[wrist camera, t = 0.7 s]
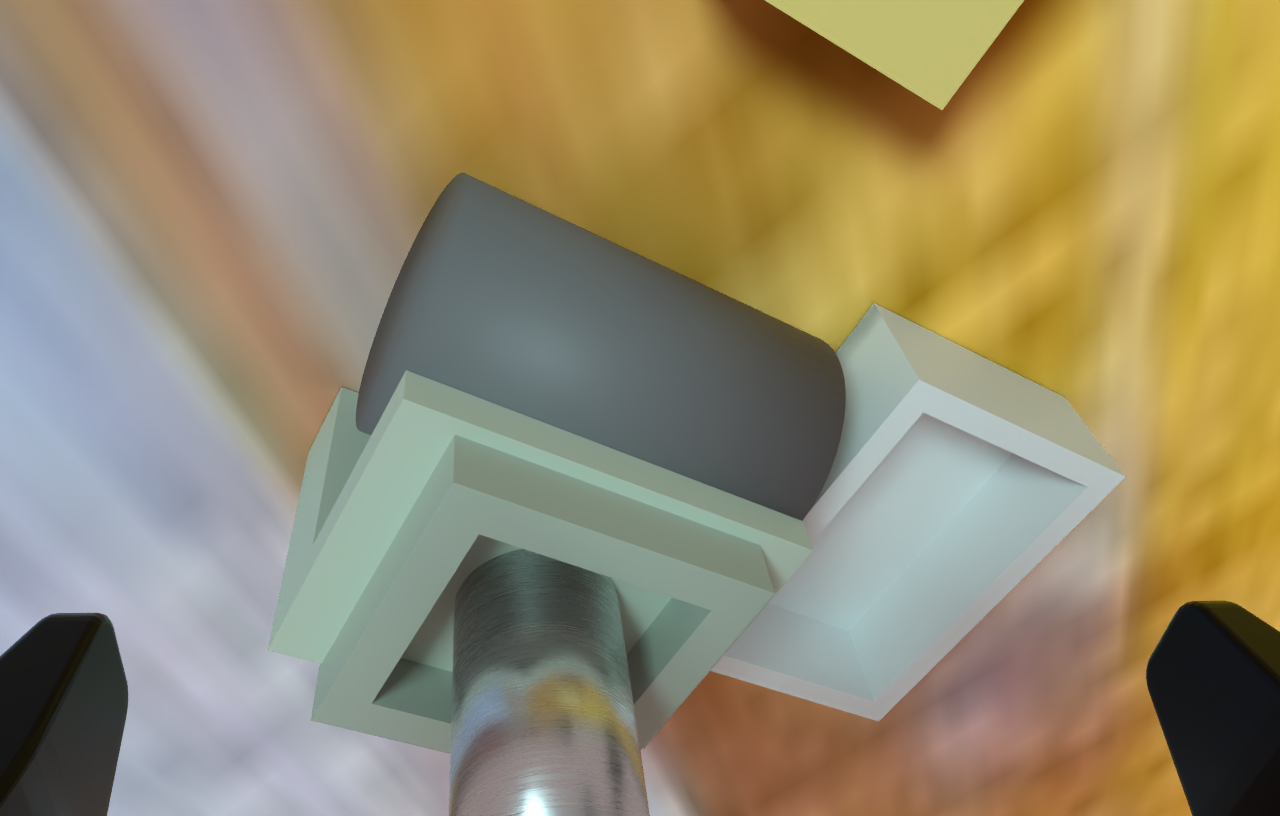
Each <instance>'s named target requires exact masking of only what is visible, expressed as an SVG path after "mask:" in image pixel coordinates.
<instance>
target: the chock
mask: <svg viewBox="0 0 1280 816" xmlns="http://www.w3.org/2000/svg"><path fill="white" fill-rule="evenodd" d="M765 1H766V2H768V3H770V4H771V5H773V6H775V7H776V8H778V9H779V10H781V11H783V12H784V13H786V14H787V15H789V16H791V17H792V18H794V19H795V20H797V21H799V22H800V23H802V24H804V25H805V26H807V27H808V28H810V29H812V30H813V31H815V32H816V33H818V34H820V35H821V36H823V37H824V38H826V39H828V40H829V41H831V42H833V43H834V44H836V45H837V46H839V47H841V48H842V49H844V50H845V51H847V52H849V53H850V54H852V55H853V56H855V57H857V58H858V59H860V60H862V61H863V62H865V63H866V64H868V65H870V66H871V67H873V68H874V69H876V70H878V71H879V72H881V73H883V74H884V75H886V76H887V77H889V78H891V79H892V80H894V81H895V82H897V83H899V84H900V85H902V86H903V87H905V88H907V89H908V90H910V91H912V92H913V93H915V94H916V95H918V96H920V97H921V98H923V99H924V100H926V101H928V102H929V103H931V104H932V105H934V106H936V107H937V108H939V109H941V110H943V109H944V107H945V106H946V105H947V103H948V102H949V101H950V99H951V98H952V96H953V95H954V94H955V92H956V91H957V90H958V88H959V87H960V86H961V84H962V83H963V82H964V80H965V79H966V78H967V76H968V75H969V74H970V72H971V71H972V70H973V68H974V67H975V66H976V64H977V63H978V62H979V60H980V59H981V58H982V56H983V55H984V54H985V52H986V51H987V50H988V48H989V47H990V45H991V44H992V43H993V41H994V40H995V39H996V37H997V36H998V35H999V33H1000V32H1001V31H1002V29H1003V28H1004V27H1005V25H1006V24H1007V23H1008V21H1009V20H1010V19H1011V17H1012V16H1013V15H1014V13H1015V12H1016V11H1017V9H1018V8H1019V7H1020V5H1021V4H1022V3H1023V1H1024V0H765Z"/></svg>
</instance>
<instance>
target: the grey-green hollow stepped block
mask: <svg viewBox="0 0 1280 816" xmlns="http://www.w3.org/2000/svg"><path fill="white" fill-rule="evenodd" d="M845 407H846V390H845V379H844V375H843V370H842V366H841V364H840V361H839V359H838V357H837V355H836V353H835V352H834V350H833V349H832V348H831V347H830V346H829V345H828V344H827V343H826V342H824V341H822V340H821V339H819V338H817V337H814V336H812V335H810V334H808V333H806V332H804V331H802V330H799V329H797V328H795V327H793V326H791V325H789V324H787V323H784V322H782V321H780V320H778V319H776V318H774V317H772V316H769V315H767V314H765V313H763V312H761V311H759V310H757V309H754V308H752V307H750V306H748V305H746V304H744V303H741V302H739V301H737V300H735V299H733V298H731V297H729V296H726V295H724V294H722V293H720V292H718V291H716V290H714V289H711V288H709V287H707V286H705V285H703V284H701V283H699V282H696V281H694V280H692V279H690V278H688V277H686V276H684V275H681V274H679V273H677V272H675V271H673V270H671V269H669V268H666V267H664V266H662V265H660V264H658V263H656V262H654V261H651V260H649V259H647V258H645V257H643V256H641V255H639V254H636V253H634V252H632V251H630V250H628V249H626V248H624V247H621V246H619V245H617V244H615V243H613V242H611V241H609V240H606V239H604V238H602V237H600V236H598V235H596V234H594V233H591V232H589V231H587V230H585V229H583V228H581V227H579V226H576V225H574V224H572V223H570V222H568V221H566V220H564V219H561V218H559V217H557V216H555V215H553V214H551V213H549V212H546V211H544V210H542V209H540V208H538V207H536V206H534V205H531V204H529V203H527V202H525V201H523V200H521V199H519V198H516V197H514V196H512V195H510V194H508V193H506V192H504V191H501V190H499V189H497V188H495V187H493V186H491V185H489V184H486V183H484V182H482V181H480V180H478V179H476V178H474V177H471V176H469V175H467V174H465V173H460V174H458V175H457V176H456V177H454V178H453V179H452V180H451V182H450V183H449V184H448V185H447V186H446V188H445V189H444V190H443V192H442V193H441V195H440V196H439V198H438V199H437V201H436V202H435V204H434V206H433V207H432V209H431V211H430V213H429V214H428V216H427V218H426V220H425V222H424V223H423V225H422V227H421V229H420V231H419V233H418V235H417V237H416V239H415V241H414V243H413V245H412V247H411V249H410V251H409V253H408V256H407V258H406V260H405V262H404V264H403V266H402V269H401V271H400V273H399V276H398V278H397V280H396V283H395V285H394V287H393V290H392V292H391V295H390V297H389V300H388V302H387V305H386V307H385V310H384V313H383V315H382V318H381V321H380V324H379V326H378V329H377V332H376V335H375V338H374V341H373V344H372V347H371V350H370V353H369V356H368V360H367V363H366V367H365V370H364V374H363V378H362V382H361V386H360V390H359V393H357V392H354V391H351V390H349V389H346V388H343V387H341V389H340V391H339V393H338V395H337V397H336V399H335V401H334V403H333V405H332V407H331V409H330V411H329V413H328V415H327V417H326V419H325V421H324V423H323V425H322V427H321V429H320V431H319V433H318V435H317V437H316V439H315V441H314V443H313V445H312V447H311V449H310V451H309V453H308V458H307V463H306V468H305V473H304V477H303V482H302V487H301V492H300V497H299V502H298V506H297V511H296V516H295V521H294V526H293V530H292V535H291V540H290V545H289V550H288V555H287V559H286V564H285V569H284V574H283V579H282V584H281V588H280V593H279V598H278V603H277V608H276V613H275V617H274V622H273V627H272V632H271V637H270V641H269V646H268V650H269V651H273V652H277V653H281V654H285V655H289V656H292V657H296V658H300V659H304V660H308V661H312V662H315V663H319V664H321V665H320V667H319V672H318V678H317V685H316V691H315V698H314V704H313V711H312V717H311V720H312V721H316V722H320V723H324V724H329V725H333V726H337V727H341V728H345V729H349V730H354V731H358V732H362V733H366V734H370V735H375V736H379V737H383V738H387V739H391V740H396V741H400V742H404V743H408V744H412V745H416V746H421V747H425V748H429V749H433V750H437V751H442V752H446V753H450V754H451V715H452V675H453V634H454V604H455V598H456V595H457V592H458V590H459V588H460V586H461V585H462V583H463V582H464V581H465V579H466V578H467V577H468V576H469V575H470V574H471V573H472V572H473V571H474V570H475V569H476V568H478V567H479V566H480V565H482V564H483V563H485V562H487V561H488V560H490V559H492V558H494V557H497V556H499V555H501V554H504V553H507V552H510V551H515V550H519V549H525V550H528V551H531V552H534V553H537V554H541V555H544V556H547V557H550V558H553V559H556V560H559V561H562V562H565V563H568V564H571V565H574V566H577V567H580V568H583V569H586V570H589V571H592V572H596V573H599V574H602V575H605V576H608V577H611V578H612V580H613V582H614V584H615V586H616V590H617V593H618V600H619V607H620V614H621V621H622V628H623V635H624V642H625V649H626V656H627V663H628V670H629V676H630V683H631V690H632V697H633V704H634V711H635V718H636V725H637V732H638V739H639V746H640V750H641V749H642V748H645V746H646V745H647V744H648V743H649V742H650V741H651V739H652V738H653V737H654V736H655V735H656V734H657V732H658V731H659V730H660V729H661V728H662V727H663V725H664V724H665V723H666V722H667V721H668V720H669V718H670V717H671V716H672V715H673V714H674V713H675V711H676V710H677V709H678V708H679V707H680V706H681V704H682V703H683V702H684V701H685V700H686V699H687V697H688V696H689V695H690V694H691V693H692V692H693V690H694V689H695V688H696V687H697V686H698V685H699V683H700V682H701V681H702V680H703V679H704V678H705V676H706V675H707V674H708V673H709V672H710V670H711V669H712V668H713V667H714V666H715V665H716V663H717V662H718V661H719V660H720V659H721V658H722V656H723V655H724V654H725V653H726V652H727V651H728V649H729V648H730V647H731V646H732V645H733V644H734V642H735V641H736V640H737V639H738V638H739V637H740V635H741V634H742V633H743V632H744V631H745V630H746V628H747V627H748V626H749V625H750V624H751V623H752V621H753V620H754V619H755V618H756V617H757V616H758V614H759V613H760V612H761V611H762V610H763V609H764V607H765V606H766V605H767V604H768V603H769V602H770V600H771V599H772V598H773V597H774V596H775V595H776V593H777V592H778V591H779V590H780V589H781V588H782V586H783V585H784V584H785V583H786V582H787V581H788V579H789V578H790V577H791V576H792V575H793V574H794V572H795V571H796V570H797V569H798V568H799V567H800V565H801V564H802V563H803V562H804V561H805V560H806V558H807V557H808V556H809V555H810V554H811V553H812V551H813V548H812V545H811V543H810V540H809V537H808V534H807V532H806V529H805V526H804V523H803V519H804V518H805V517H806V515H807V514H808V512H809V511H810V509H811V508H812V506H813V505H814V503H815V501H816V499H817V498H818V496H819V494H820V492H821V490H822V488H823V486H824V484H825V482H826V479H827V477H828V475H829V473H830V470H831V468H832V465H833V462H834V459H835V456H836V453H837V450H838V446H839V443H840V439H841V434H842V429H843V424H844V416H845Z"/></svg>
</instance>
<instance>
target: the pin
mask: <svg viewBox="0 0 1280 816" xmlns="http://www.w3.org/2000/svg"><path fill="white" fill-rule="evenodd" d="M449 816H650V815H649V808H648V801H647V794H646V787H645V780H644V773H643V767H642V760H641V753H640V746H639V739H638V732H637V725H636V718H635V711H634V704H633V697H632V690H631V683H630V676H629V670H628V663H627V656H626V649H625V642H624V635H623V628H622V621H621V614H620V607H619V600H618V593H617V590H616V586H615V584H614V582H613V580H612V578H611V577H608V576H605V575H602V574H599V573H596V572H592V571H589V570H586V569H583V568H580V567H577V566H574V565H571V564H568V563H565V562H562V561H559V560H556V559H553V558H550V557H547V556H544V555H541V554H537V553H534V552H531V551H528V550H525V549H519V550H515V551H510V552H507V553H504V554H501V555H499V556H497V557H494V558H492V559H490V560H488V561H487V562H485V563H483V564H482V565H480V566H479V567H478V568H476V569H475V570H474V571H473V572H472V573H471V574H470V575H469V576H468V577H467V578H466V579H465V581H464V582H463V583H462V585H461V586H460V588H459V590H458V592H457V595H456V598H455V604H454V634H453V675H452V715H451V756H450V797H449Z"/></svg>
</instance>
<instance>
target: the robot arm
mask: <svg viewBox="0 0 1280 816" xmlns="http://www.w3.org/2000/svg"><path fill="white" fill-rule="evenodd" d="M1146 679H1147V686H1148V690H1149V693H1150V696H1151V699H1152V702H1153V705H1154V707H1155V710H1156V713H1157V716H1158V719H1159V722H1160V724H1161V727H1162V730H1163V733H1164V736H1165V739H1166V741H1167V744H1168V747H1169V750H1170V753H1171V756H1172V759H1173V761H1174V764H1175V767H1176V770H1177V773H1178V776H1179V778H1180V781H1181V784H1182V787H1183V790H1184V793H1185V796H1186V798H1187V801H1188V804H1189V807H1190V810H1191V813H1192V815H1193V816H1280V632H1279V631H1278V630H1276V629H1275V628H1273V627H1272V626H1270V625H1268V624H1267V623H1265V622H1264V621H1262V620H1261V619H1259V618H1258V617H1256V616H1255V615H1253V614H1252V613H1250V612H1249V611H1247V610H1246V609H1244V608H1242V607H1241V606H1239V605H1237V604H1235V603H1232V602H1227V601H1192V602H1187V603H1186V604H1184V605H1183V606H1181V607H1180V608H1179V609H1178V611H1177V612H1176V613H1175V615H1174V617H1173V619H1172V620H1171V622H1170V624H1169V626H1168V627H1167V629H1166V631H1165V632H1164V634H1163V636H1162V638H1161V639H1160V641H1159V643H1158V645H1157V646H1156V648H1155V650H1154V652H1153V653H1152V655H1151V657H1150V659H1149V661H1148V665H1147V669H1146ZM127 708H128V685H127V680H126V676H125V672H124V668H123V664H122V660H121V656H120V652H119V648H118V644H117V640H116V636H115V632H114V628H113V625H112V623H111V621H110V619H109V618H108V617H107V616H106V615H104V614H100V613H57V614H52V615H49V616H47V617H45V618H43V619H42V620H40V621H39V622H38V623H37V624H36V625H34V626H33V627H32V628H31V629H30V630H29V631H28V632H27V633H26V634H25V635H23V636H22V637H21V638H20V639H19V640H18V641H17V642H16V643H15V644H13V645H12V646H11V647H10V648H9V649H8V650H7V651H6V652H5V653H3V654H2V655H1V656H0V816H107V812H108V807H109V802H110V797H111V792H112V787H113V781H114V776H115V771H116V766H117V761H118V756H119V751H120V746H121V741H122V736H123V731H124V726H125V721H126V715H127Z"/></svg>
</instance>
